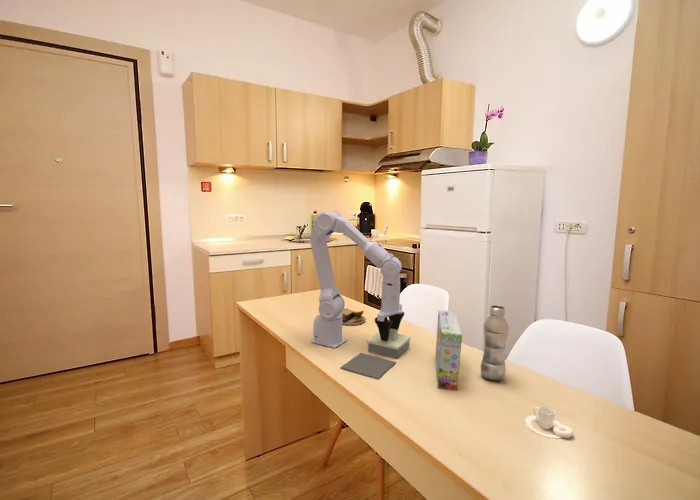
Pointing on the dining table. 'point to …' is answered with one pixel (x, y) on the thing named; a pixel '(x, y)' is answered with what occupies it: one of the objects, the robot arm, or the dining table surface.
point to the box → (387, 350)
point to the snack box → (448, 350)
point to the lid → (390, 340)
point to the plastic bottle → (495, 344)
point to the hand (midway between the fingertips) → (389, 336)
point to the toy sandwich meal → (352, 317)
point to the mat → (368, 365)
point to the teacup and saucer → (548, 423)
